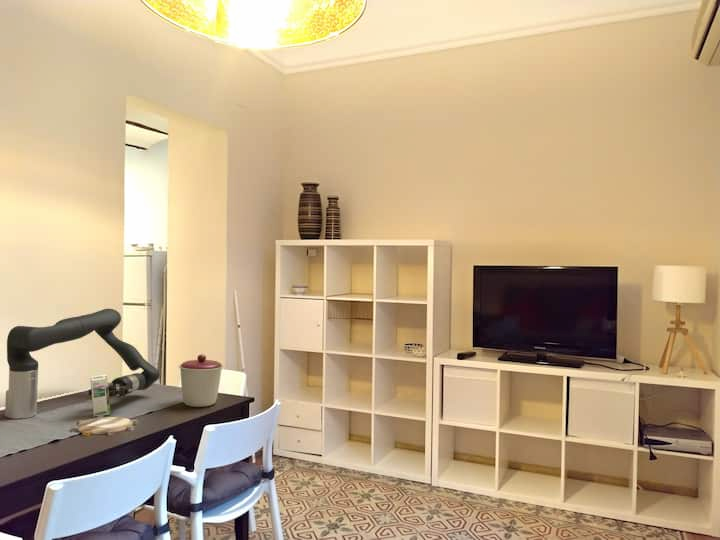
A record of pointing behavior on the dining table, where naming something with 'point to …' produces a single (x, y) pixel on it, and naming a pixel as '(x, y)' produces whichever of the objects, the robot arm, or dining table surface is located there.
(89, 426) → the sprocket
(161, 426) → the dining table surface
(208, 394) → the canister
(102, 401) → the syrup box
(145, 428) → the dining table surface
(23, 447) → the dining table surface
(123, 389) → the robot arm
